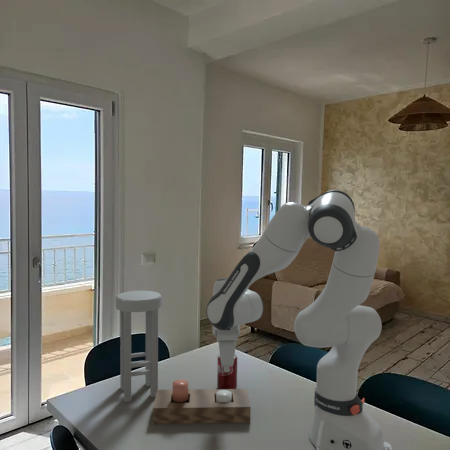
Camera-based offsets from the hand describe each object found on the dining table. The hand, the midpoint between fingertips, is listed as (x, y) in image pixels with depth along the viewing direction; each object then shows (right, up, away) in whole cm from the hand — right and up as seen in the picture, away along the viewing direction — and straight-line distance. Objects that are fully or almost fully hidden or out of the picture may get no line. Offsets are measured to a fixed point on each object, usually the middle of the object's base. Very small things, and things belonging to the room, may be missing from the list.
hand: (226, 370), depth 130 cm
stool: (-31, -13, +14) cm, 37 cm away
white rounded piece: (-1, -13, +1) cm, 13 cm away
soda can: (0, -13, +18) cm, 23 cm away
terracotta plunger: (-15, -9, 0) cm, 17 cm away
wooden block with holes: (-8, -14, 0) cm, 16 cm away
